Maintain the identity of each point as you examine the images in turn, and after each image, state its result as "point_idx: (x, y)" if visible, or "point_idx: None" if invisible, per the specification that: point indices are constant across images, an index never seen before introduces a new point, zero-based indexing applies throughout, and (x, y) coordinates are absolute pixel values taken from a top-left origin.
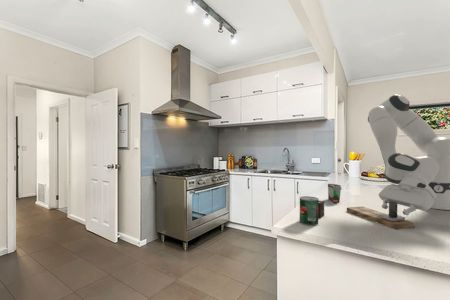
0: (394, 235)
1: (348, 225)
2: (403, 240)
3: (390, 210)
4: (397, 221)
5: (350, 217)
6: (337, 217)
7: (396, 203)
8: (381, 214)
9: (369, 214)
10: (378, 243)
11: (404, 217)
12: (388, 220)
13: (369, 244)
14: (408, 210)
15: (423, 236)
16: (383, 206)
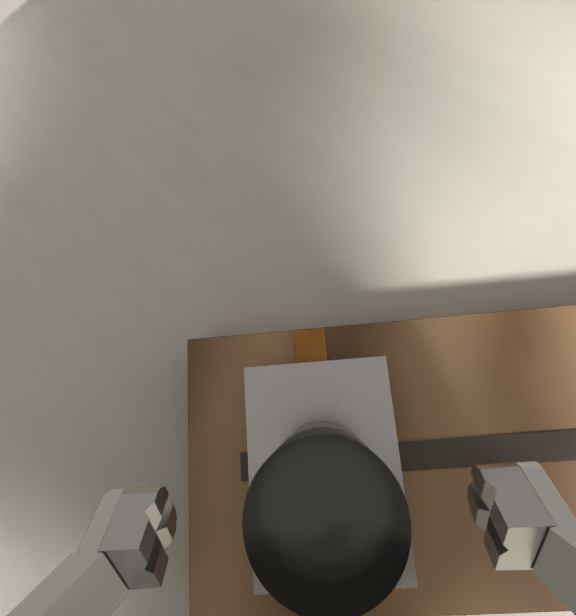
0: (110, 236)
1: (347, 62)
2: (31, 223)
3: (317, 426)
4: None
5: (559, 194)
6: (558, 85)
7: (243, 528)
8: None
9: (539, 346)
10: (49, 55)
11: (253, 580)
12: None
13: (55, 6)
14: (79, 560)
15: (31, 442)
16: (499, 466)
